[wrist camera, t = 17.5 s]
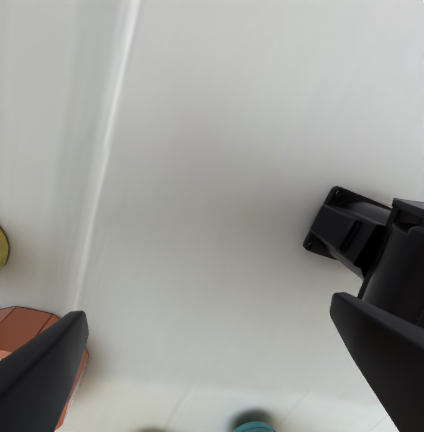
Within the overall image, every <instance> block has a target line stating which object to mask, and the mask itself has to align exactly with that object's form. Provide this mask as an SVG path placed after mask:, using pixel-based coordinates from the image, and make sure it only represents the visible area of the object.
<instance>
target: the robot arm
mask: <svg viewBox="0 0 424 432" xmlns="http://www.w3.org/2000/svg"><path fill="white" fill-rule="evenodd" d="M337 190H338V191H339V192H338V194H336V191H337ZM391 206H393V207H392V210H391V208H390V207H388V206H385V205H383V204H380V203H378V202H376V201H373V200H371V199H368V198H366V197H363V196H361V195H359V194H356V193H354V192H351V191H349V190H346V189H344V188H342V187H338V186H336V187H334V188H332V190H331V192H330V193H329V195H328V197H327V199H326V201H325V203H324V205H323V206H322V208H321V210H320V211H319V213H318V215H317V217H316V219H315V221H314V223H313V225H312V227H311V230H310V232H309V234H308V236H307V237H306V239H305V241H304V244H303V247H304V248H305V249H306V250H308V251H311V252H314V253H317V254H320V255H323V256H326V257H329V258H332V259H335V260H338V261H340V262H341V263H342V264H344V265H345V266H346V267H347V268H349V269H350V270H351V271H352V272H354V273H355V274H356V275H357V276H359V277H360V278H361V279H362V280H364V281H363V283H362V286H361V288H360V291H359V294H358V296H357V298H356V297H354V296H352V295H350V294H348V293H345V292H340V293H334V294H333V296H332V301H331V306H330V316H331V319H332V321H333V322H334V324H335V326H336V328H337V330H338V332H339V334H340V336H341V338H342V340H343V342H344V343H345V345H346V347H347V349H348V351H349V353H350V355H351V356H352V358H353V360H354V361H355V363H356V365H357V366H358V368H359V369H360V371H361V372H362V374H363V376H364V377H365V379H366V380H367V382H368V383H369V385H370V387H371V388H372V390H373V391H374V393H375V394H376V396H377V397H378V399H379V401H380V402H381V404H382V405H383V407H384V408H385V410H386V412H387V413H388V415H389V416H390V418H391V419H392V421H393V422H394V424H395V426H396V427H397V429H398V430H399V432H424V202H418V201H411V200H404V199H397V198H394V200H393V202H392V205H391ZM309 244H310V246H309V247H308V245H309ZM88 335H89V329H88V324H87V319H86V314H85V312H84V311H72V312H70V313H68V314H67V315H65V316H64V317H62V318H61V319H59V320H58V321H57V322H55V323H54V324H52V325H51V326H49V327H48V328H47V329H45V330H44V331H42V332H41V333H39V334H38V335H36V336H35V337H34V338H32V339H31V340H29V341H28V342H26V343H25V344H24V345H22V346H21V347H19V348H18V349H16V350H15V351H14V352H12V353H11V354H9V355H8V356H6V357H5V358H4V359H2V360H1V361H0V432H54V431H55V429H56V426H57V424H58V422H59V419H60V417H61V414H62V412H63V410H64V407H65V405H66V402H67V400H68V397H69V395H70V393H71V390H72V387H73V385H74V382H75V379H76V376H77V372H78V369H79V366H80V362H81V359H82V356H83V352H84V349H85V346H86V343H87V339H88Z"/></svg>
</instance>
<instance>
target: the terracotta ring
mask: <svg viewBox="0 0 424 432" xmlns="http://www.w3.org/2000/svg"><path fill="white" fill-rule="evenodd" d="M58 320H59V318H58V317H56V316H55V315H52V314H51V313H46V312H41V311H36V310H32V309H27V308H22V307H10V308H5V309H0V358H2V359H4V358H5V357H6V356H8V355H9V354H11V353H12V352H14V351H15V350H16V349H18V348H19V347H21V346H22V345H24V344H25V343H26V342H28V341H29V340H31V339H32V338H34V337H35V336H36V335H38V334H39V333H41V332H42V331H44V330H45V329H47V328H48V327H49V326H51V325H52V324H54V323H55V322H57V321H58ZM88 358H89V355H88V352H87V350H86V348H85V349H84V352H83V356H82V359H81V362H80V366H79V369H78V372H77V376H76V379H75V382H74V385H73V387H72V390H71V393H70V395H69V397H68V400H67V402H66V405H65V407H64V410H63V412H62V414H61V417H60V419H59V422H58V424H57V426H56V429H58V428H59V427H60V426H61V425H62V424H63V422H64V420H65V417H66V415H67V413H68V410H69V408H70V406H71V403H72V401H73V399H74V396H75V394H76V392H77V389H78V387H79V385H80V382H81V380H82V378H83V374H84V371H85V368H86V364H87V361H88ZM56 429H55V430H56Z"/></svg>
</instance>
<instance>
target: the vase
mask: <svg viewBox="0 0 424 432" xmlns="http://www.w3.org/2000/svg"><path fill="white" fill-rule="evenodd" d="M7 256H8V243H7V239H6V237H5V235H4V233H3V232H2V230H1V229H0V269H1V268H2V267H3V265H4V264H5V262H6V260H7Z"/></svg>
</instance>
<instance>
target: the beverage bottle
mask: <svg viewBox="0 0 424 432" xmlns="http://www.w3.org/2000/svg"><path fill="white" fill-rule="evenodd" d="M232 432H275V431H274V429H273V427H272V426H271V425H269V424H267V423H265V422H260V421H254V422H248V423H245V424H243V425H241V426H239V427H237V428H236V429H235V430H233V431H232Z"/></svg>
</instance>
